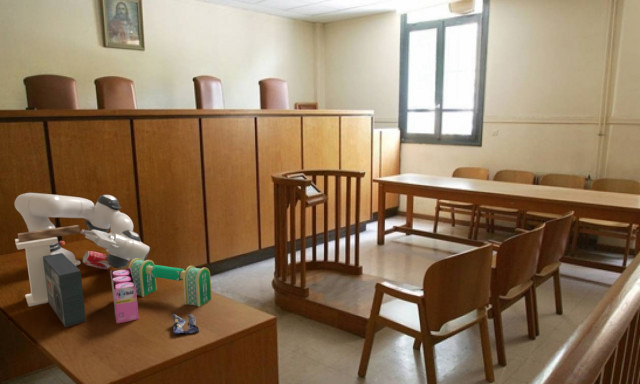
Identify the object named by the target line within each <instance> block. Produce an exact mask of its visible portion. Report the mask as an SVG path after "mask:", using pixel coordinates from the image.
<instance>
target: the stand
mask: <svg viewBox="0 0 640 384" xmlns="http://www.w3.org/2000/svg"><path fill="white" fill-rule="evenodd" d="M14 241H15V246H16V249H17V250H18V251H19V250H23V249H24V250H25V251H24V252H25V258H26V265H27V271H28V279H29V285H30V293H27V294H25V295H24V296H25V299H26V302H27V306H28V307H33V306H39V305H43V304H47V303H49V302H48V294H47V286H46V278H45V270H44V263H43V256H48V255H51V253H50V245H49V244H56V243H58V241H59V240H58V236H57V237H51V238H44V239H38V240H31V241H25V242H19V240H18V238H14Z"/></svg>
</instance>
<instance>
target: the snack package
mask: <svg viewBox="0 0 640 384" xmlns="http://www.w3.org/2000/svg"><path fill="white" fill-rule="evenodd" d="M186 314H187V312H186ZM187 317H188V320H187V319H186V318H181V317H180V316H178V315H177V314H175V313H174V312H172V320H173V327H172V330H173V334H174V335H179V334H186V335H194V334H196V333H200V328H199V327H198V326H197V325H196V324H197V320H196V317H195V315H194V314H192V313H191V312H189V313H188V314H187ZM186 323H187V326H188V329H186V330H184V329H183V326H184V325H185V324H186Z"/></svg>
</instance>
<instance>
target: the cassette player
mask: <svg viewBox="0 0 640 384" xmlns="http://www.w3.org/2000/svg"><path fill="white" fill-rule="evenodd" d="M43 263H44V270H45V278H46V286H47V294H48V302H47V303H48V304H49V306H50V307H51V308H52V310H53V311H54V313H55V315H56V316H57V317H58V319H59V321H61V323H62V324H63V326H64V327H65V328H67V327H68V328H69V327H71V326H76V325H78V324H82V323H86V322H87V319H86V318H87V316H86V308H85V297H84V289H83V281H82V279H83V278H82V273H81V272H82V271H81V270H80V269H79V267H77V266H75V265H74V264H73V263H72V262H71V261H70V260H69V259H68V258H67V257H66V256H65V255H64V254H63V253H59V254H54V255H48V256H43Z"/></svg>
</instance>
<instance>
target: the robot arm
mask: <svg viewBox="0 0 640 384" xmlns="http://www.w3.org/2000/svg"><path fill="white" fill-rule="evenodd" d="M14 208H15V209H16V210H17V212H18V213H19V214H20V215H21V216H22V218H23V220H24V222H25V225H26V227H27V230H28V232H32V231H39V230H46V229H53V228H56V226H55V224H54V223H53V222H51V220H50V218H69V219H72V218H73V219H85V220H84V224H85V225H86V227H87V228H88V230H86V229H81V230H80V234H82V235H84V237H85V239H88V240H89V241H92V242H94V243H95V244H96V245H97V247H100V248H103V249H105V252H107V253H108V254H107V255H108V256H107V260H108V263H109V264H110V265H111V266H110V267H112V268H115V269H118V270H121V269H124V268H127V266H128V267H129V264H130V262H131V261H132V260H133V259H135V258H139V259H141V260H142V261H146V260H147V257H148V255H149V253H150V250H151V249H150V248H151V247H150V246H149V245H147V244H145V243H144V242H142V240H141V237H140V235H139V233H137V232H135V231H134V223H133V220H132V219H131V217H129V215H127V214H126V213H124V212H121V211H120V209H122V206H121V205H120V202H119V200H118V199H117V197H115V196H114V195H110V194H101V195H100V196H99V197H98V198H97V201H96V203H94V202H93V201H92V200H90V199H87V198H84V197H78V196H70V195H61V194H60V195H59V194H51V193H50V194H48V193H39V192H26V193H21V194H19V195H18V196H17V197H16V198H15V200H14ZM109 230H110V232H108V231H109ZM49 245H50V253H51V255H54V254H59V253H63V254H64V255H65V256H66V257H67V258H68V259H69V260H70V261H71V262H72V263H73V264H74V265H75V266H76V267H77V266H79V265H81V260H78V259H76V257H75V255H74V253H73V252H72V251H70V250H67V249H66V248H64V247H62V246H64V245H66V242H65V241H64V240H60V241H59V240H58V243H56V244H49ZM130 260H131V261H130Z"/></svg>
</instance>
